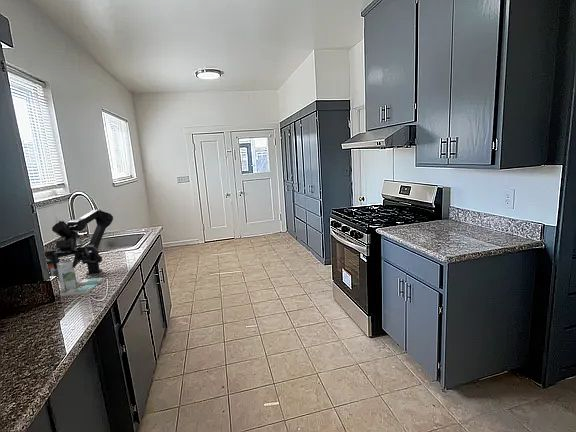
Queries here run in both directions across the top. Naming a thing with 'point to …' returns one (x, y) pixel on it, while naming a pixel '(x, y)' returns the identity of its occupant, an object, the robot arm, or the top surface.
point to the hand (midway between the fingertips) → (64, 268)
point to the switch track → (86, 289)
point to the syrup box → (67, 275)
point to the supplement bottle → (52, 268)
